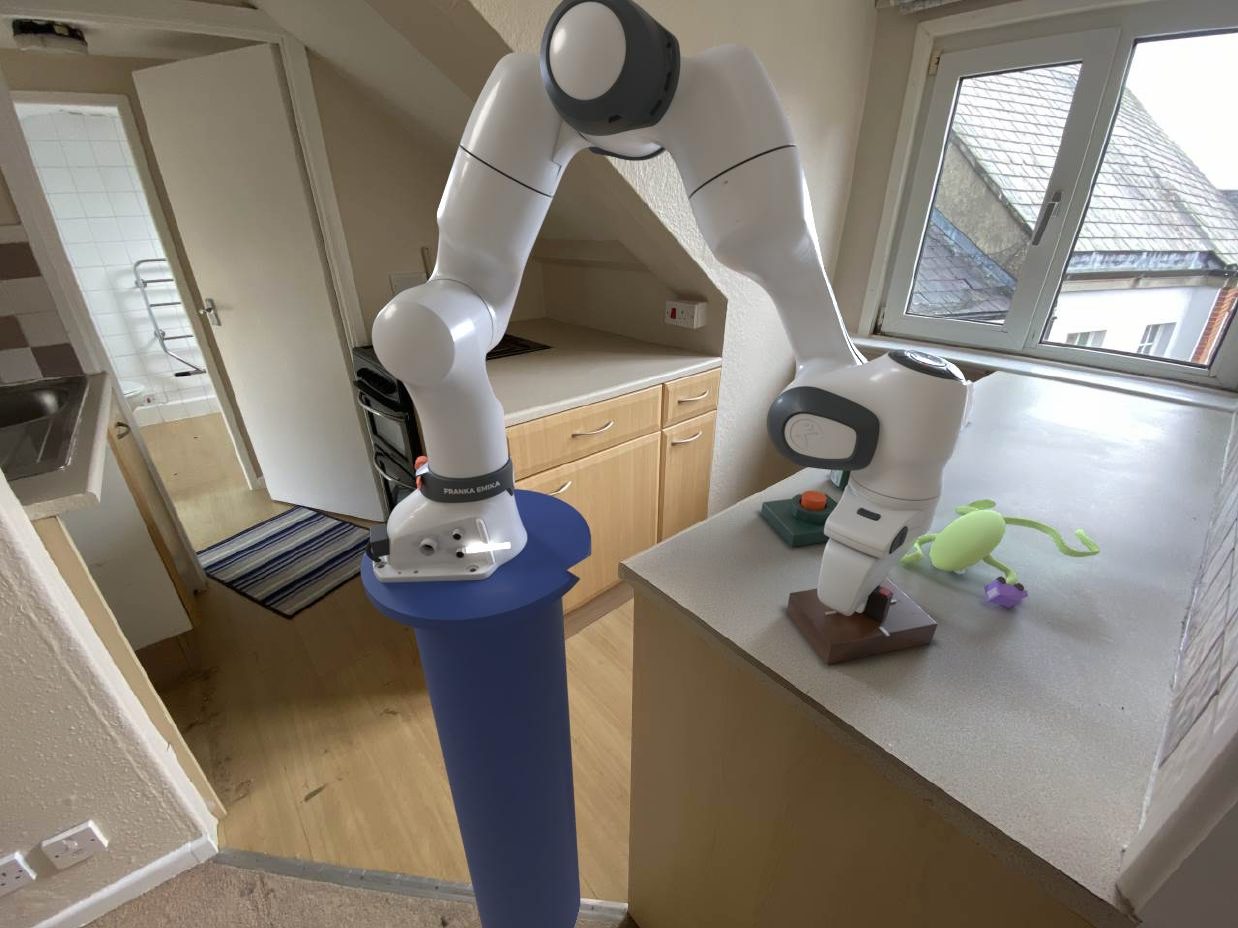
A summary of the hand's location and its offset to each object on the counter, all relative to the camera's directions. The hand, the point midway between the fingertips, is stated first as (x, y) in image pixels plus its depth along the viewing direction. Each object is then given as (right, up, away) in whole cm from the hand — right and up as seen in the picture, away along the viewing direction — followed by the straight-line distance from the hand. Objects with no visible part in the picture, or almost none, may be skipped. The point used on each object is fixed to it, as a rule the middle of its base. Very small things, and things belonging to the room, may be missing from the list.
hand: (862, 601), depth 64 cm
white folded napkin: (+50, +25, +60) cm, 82 cm away
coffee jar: (+15, +13, +35) cm, 40 cm away
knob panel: (0, -3, +2) cm, 4 cm away
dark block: (0, -1, 0) cm, 1 cm away
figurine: (+24, +3, +14) cm, 28 cm away
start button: (+2, +10, +21) cm, 23 cm away
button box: (+2, +7, +22) cm, 23 cm away
